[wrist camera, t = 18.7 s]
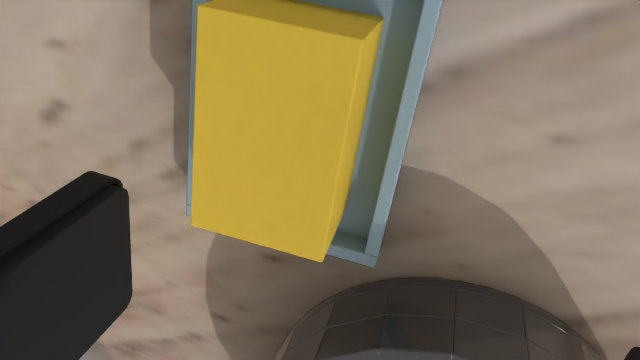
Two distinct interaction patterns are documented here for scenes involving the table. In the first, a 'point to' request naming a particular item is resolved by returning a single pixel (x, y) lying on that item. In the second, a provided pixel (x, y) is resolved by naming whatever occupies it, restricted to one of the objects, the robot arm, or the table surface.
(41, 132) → the table surface
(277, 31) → the sponge
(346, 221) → the light blue tray
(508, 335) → the pan
